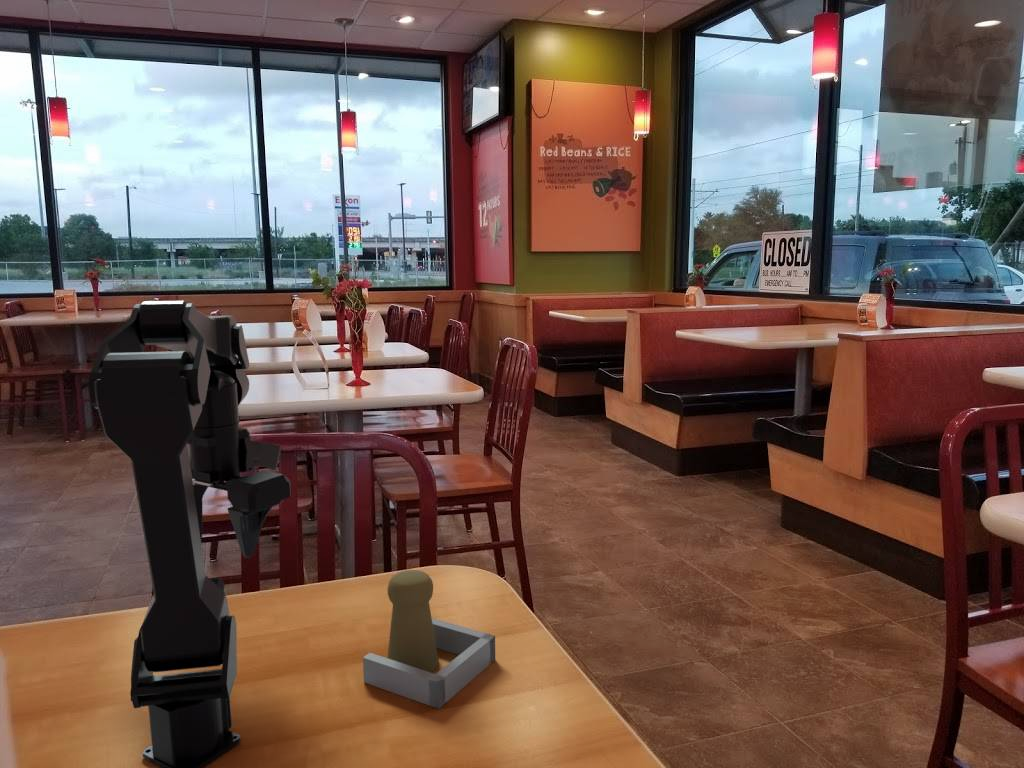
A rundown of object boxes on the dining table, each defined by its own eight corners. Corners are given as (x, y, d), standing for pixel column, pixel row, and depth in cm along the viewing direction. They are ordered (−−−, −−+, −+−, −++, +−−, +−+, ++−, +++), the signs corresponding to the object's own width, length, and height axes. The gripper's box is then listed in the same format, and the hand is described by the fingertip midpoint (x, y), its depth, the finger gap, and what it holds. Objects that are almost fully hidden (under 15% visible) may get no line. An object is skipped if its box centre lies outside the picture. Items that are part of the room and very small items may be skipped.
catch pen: (438, 708, 81) (438, 682, 80) (363, 682, 86) (362, 657, 85) (495, 659, 91) (495, 635, 90) (425, 638, 96) (424, 615, 95)
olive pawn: (442, 651, 93) (441, 564, 91) (433, 678, 87) (431, 586, 85) (393, 649, 93) (390, 563, 91) (380, 676, 87) (377, 584, 85)
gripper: (321, 418, 93) (327, 542, 95) (216, 403, 102) (224, 516, 105) (247, 437, 83) (256, 574, 86) (139, 419, 92) (150, 543, 95)
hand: (222, 549), depth 93 cm, fingers open, 9 cm apart
